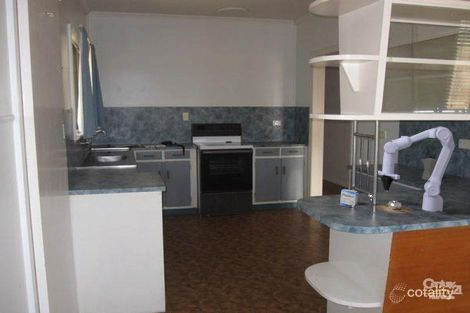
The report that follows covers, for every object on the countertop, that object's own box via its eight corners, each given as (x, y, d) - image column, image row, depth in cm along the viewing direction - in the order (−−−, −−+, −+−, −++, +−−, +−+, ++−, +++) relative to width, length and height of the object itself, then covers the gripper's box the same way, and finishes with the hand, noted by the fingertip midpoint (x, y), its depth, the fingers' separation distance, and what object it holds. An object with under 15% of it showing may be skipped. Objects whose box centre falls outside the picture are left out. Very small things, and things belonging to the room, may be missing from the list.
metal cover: (394, 206, 211) (395, 199, 210) (403, 209, 206) (404, 201, 205) (385, 207, 209) (386, 199, 208) (394, 210, 203) (395, 202, 203)
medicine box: (339, 205, 215) (341, 190, 213) (342, 204, 218) (343, 188, 217) (354, 208, 210) (355, 192, 209) (357, 206, 214) (358, 190, 213)
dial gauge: (371, 206, 215) (372, 193, 214) (376, 208, 212) (377, 195, 211) (365, 207, 214) (366, 194, 213) (370, 209, 210) (372, 195, 209)
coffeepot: (419, 179, 302) (421, 155, 299) (418, 177, 311) (420, 154, 308) (442, 181, 297) (444, 157, 294) (440, 179, 305) (443, 155, 303)
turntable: (394, 205, 219) (394, 203, 219) (421, 214, 203) (421, 211, 203) (368, 208, 212) (368, 205, 212) (394, 217, 196) (394, 214, 195)
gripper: (372, 162, 216) (370, 187, 218) (393, 167, 203) (390, 193, 205) (382, 162, 219) (380, 187, 221) (403, 166, 206) (401, 192, 208)
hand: (386, 190), depth 213 cm, fingers closed
